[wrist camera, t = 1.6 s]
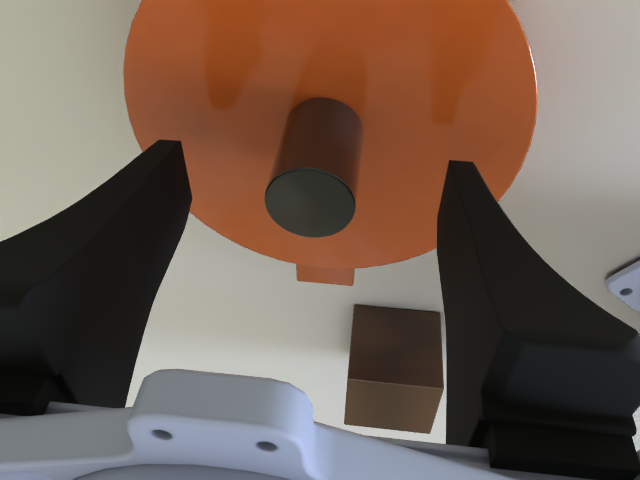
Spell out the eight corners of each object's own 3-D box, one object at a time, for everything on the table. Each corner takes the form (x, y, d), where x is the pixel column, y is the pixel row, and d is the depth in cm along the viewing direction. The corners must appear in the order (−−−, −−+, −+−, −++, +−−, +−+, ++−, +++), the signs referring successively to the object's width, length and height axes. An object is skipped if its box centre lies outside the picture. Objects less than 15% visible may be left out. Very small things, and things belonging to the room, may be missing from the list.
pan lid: (593, -99, 13) (652, -29, 10) (483, 261, 22) (495, 361, 18) (87, -119, 14) (-9, -60, 11) (173, 234, 23) (134, 325, 19)
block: (440, 312, 29) (443, 389, 26) (428, 360, 33) (430, 434, 29) (354, 304, 30) (347, 379, 27) (350, 352, 33) (343, 424, 30)
